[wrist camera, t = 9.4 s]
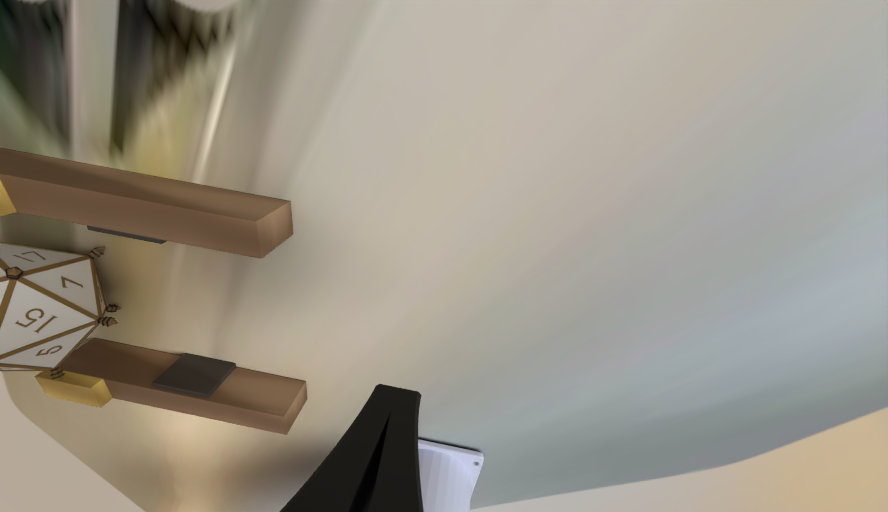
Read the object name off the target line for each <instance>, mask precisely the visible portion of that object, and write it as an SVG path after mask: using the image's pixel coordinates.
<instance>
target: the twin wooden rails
mask: <svg viewBox="0 0 888 512" xmlns="http://www.w3.org/2000/svg"><path fill="white" fill-rule="evenodd" d="M15 212H20V213H25V214H31V215H36V216H41V217H46V218H51V219H57V220H62V221H67V222H72V223H78V224H83V225H87V228H88V230H92V231H97V232H103V233H108V234H113V235H118V236H123V237H129V238H134V239H139V240H144V241H149V242H155V243H160V244H162V243H164V242H167V241H172V242H177V243H182V244H187V245H193V246H198V247H203V248H208V249H214V250H219V251H224V252H229V253H234V254H240V255H245V256H250V257H255V258H261V259H262V258H263V257H264V256H266V255H267V254H268V253H269V252H271V251H272V250H273V249H275V248H276V247H277V246H278V245H280V244H281V243H282V242H284V241H285V240H286V239H288V238H289V237H290V236H291V235H293V226H292V214H291V202H290V201H287V200H281V199H276V198H270V197H265V196H259V195H254V194H248V193H243V192H237V191H232V190H227V189H221V188H216V187H210V186H205V185H199V184H194V183H188V182H183V181H178V180H172V179H167V178H161V177H156V176H150V175H145V174H139V173H134V172H129V171H123V170H118V169H112V168H107V167H101V166H96V165H90V164H85V163H80V162H74V161H69V160H63V159H58V158H52V157H47V156H41V155H36V154H30V153H25V152H20V151H14V150H9V149H3V148H0V216H4V215H7V214H11V213H15ZM59 369H61V370H63V373H66V374H64V377H63V379H62V382H61V381H58V380H55V379H53V380H52V378H53V377H52V376H50V375H51V371H43V372H41V373H39V374H38V375H36V376H35V378H36V379H37V381H38V382H39V384H40V385H41V387H42V388H43V390H44V391H45V393H46V394H47V396H49V397H54V398H59V399H63V400H68V401H73V402H77V403H82V404H87V405H91V406H96V407H102V406H104V405H105V404H106V403H107V402H108V401H110V400H111V399H112V398H115V399H120V400H125V401H129V402H134V403H139V404H144V405H148V406H153V407H158V408H162V409H167V410H172V411H177V412H181V413H186V414H191V415H195V416H200V417H205V418H210V419H214V420H219V421H224V422H228V423H233V424H238V425H243V426H247V427H252V428H257V429H261V430H266V431H271V432H276V433H280V434H285V435H287V433H288V432H289V430H290V428H291V426H292V425H293V423H294V421H295V419H296V418H297V416H298V414H299V412H300V411H301V409H302V407H303V405H304V404H305V402H306V400H307V389H306V381H301V380H296V379H292V378H287V377H282V376H277V375H272V374H267V373H262V372H257V371H253V370H248V369H243V368H238V367H236V364H235V363H231V362H226V361H221V360H216V359H211V358H206V357H202V356H197V355H192V354H187V353H185V354H183V355H182V356H179V355H175V354H170V353H165V352H160V351H155V350H150V349H145V348H140V347H136V346H131V345H126V344H121V343H116V342H111V341H106V340H102V339H97V338H94V339H92V340H90V341H89V342H87V343H86V344H84V345H83V346H81V347H80V348H78V349H77V350H75V351H73V352H72V353H71V354H70V355H69V356H68V357H67V358H66V360H65V361H64V362H63V363H62V364H61V365H60V366H59Z"/></svg>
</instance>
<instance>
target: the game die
mask: <svg viewBox="0 0 888 512" xmlns="http://www.w3.org/2000/svg"><path fill="white" fill-rule="evenodd" d="M104 249H105V247H101V248H95V250H93V251H91V253H90V254H89V255H83V254H77V253H70V252H64V251H57V250H51V249H44V248H37V247H31V246H24V245H18V244H11V243H5V242H0V371H51V375H50V376H52V377H53V378H52V380H53V379H55V380H58V381H61V382H62V379H63V377H64V374H66V373H63V370H61V369H59V366H60V365H61V364H62V363H63V362H64V361H65V360H66V358H67V357H68V356H69V355H70V354H71V353H72V352H73V351H74V350H75V349H76V348H77V347H78V346H79V345H80V344H81V343H82V342H83V341H84V340H85V339H86V337H87V336H88V335H89V334H90V333H91V332H92V331H93V330H94V329H95V328H96V327H97V326H98V325H99V324H100V323H101V324H102V325H103V326H104V325H107V327H109V326H110V325H113V324H116V323H118V322H117V321H116V320H115V318H112V317H110V318H109V317H104V314H105V311H107V312H116V311H117V310H119V309H121V308H119V307H117V306H116V305H115V304H114V305H111V304H110V305H108V306H106V303H105V299H104V295H103V292H102V288H101V285H100V281H99V277H98V274H97V270H96V266H95V263H94V258H96V257H100V255H102V254H103V252H104ZM103 317H104V318H103Z"/></svg>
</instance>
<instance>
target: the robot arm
mask: <svg viewBox="0 0 888 512" xmlns="http://www.w3.org/2000/svg"><path fill="white" fill-rule="evenodd" d="M420 399H421V394H420V393H419V392H417V391H412V390H407V389H402V388H397V387H392V386H388V385H383V384H379V385H377V386H376V387H375V389H374V391H373V392H372V394H371V396H370V397H369V399H368V401H367V402H366V404H365V405H364V407H363V409H362V410H361V412H360V413H359V415H358V416H357V417H356V419H355V420H354V422H353V423H352V425H351V426H350V427H349V429H348V430H347V431H346V433H345V434H344V435H343V437H342V438H341V439H340V441H339V442H338V443H337V445H336V446H335V447H334V449H333V450H332V451H331V453H330V454H329V455H328V456H327V458H326V459H325V460H324V461H323V462H322V464H321V465H320V466H319V467H318V468H317V470H316V471H315V472H314V473H313V474H312V476H311V477H310V478H309V479H308V481H307V482H306V483H305V484H304V485H303V486H302V487H301V489H300V490H299V491H298V492H297V493H296V494H295V495H294V497H293V498H292V499H291V500H290V501H289V502H288V503H287V504H286V505H285V506H284V508H283V509H282V510H281V511H280V512H470V498H471V495H472V492H473V489H474V486H475V484H476V481H477V478H478V475H479V472H480V469H481V467H482V464H483V461H484V455H483V454H482V453H480V452H477V451H472V450H467V449H462V448H458V447H453V446H448V445H443V444H439V443H434V442H429V441H424V440H419V439H418V416H419V405H420Z"/></svg>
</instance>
